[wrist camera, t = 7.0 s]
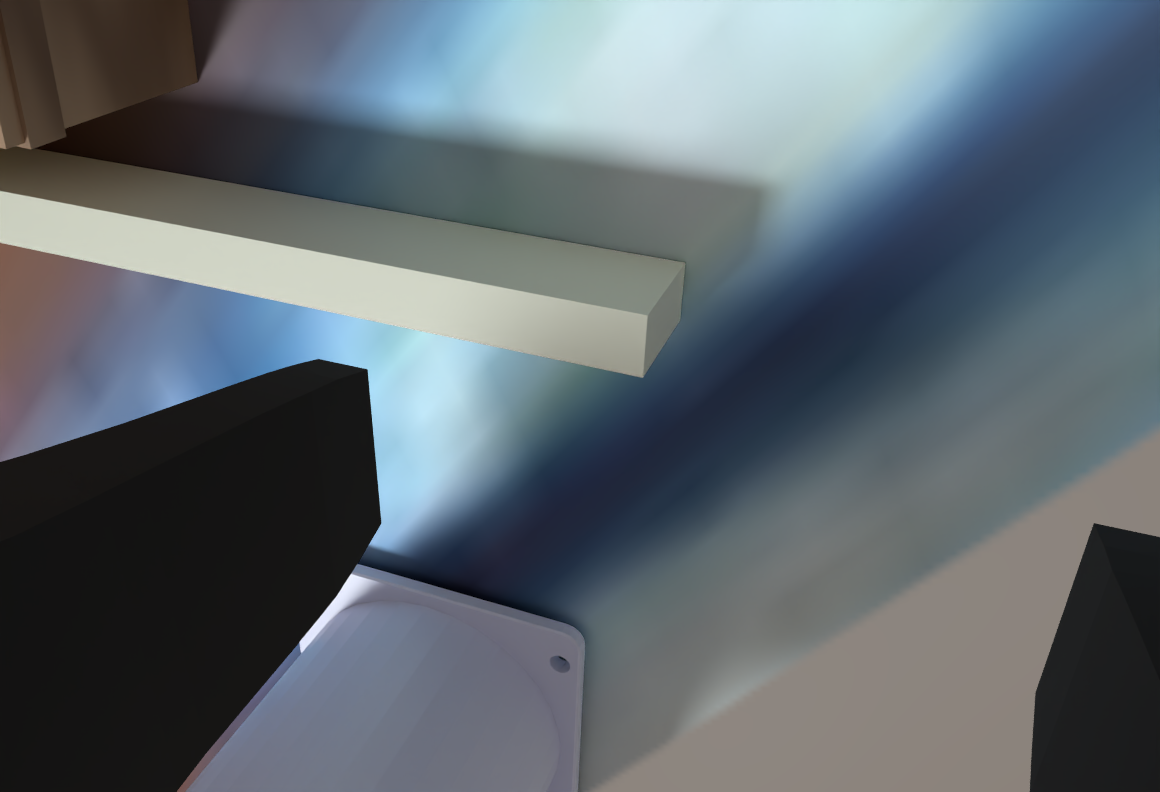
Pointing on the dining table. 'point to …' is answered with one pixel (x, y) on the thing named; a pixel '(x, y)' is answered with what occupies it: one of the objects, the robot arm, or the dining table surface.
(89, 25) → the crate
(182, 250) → the cream u-shaped frame
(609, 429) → the dining table surface
